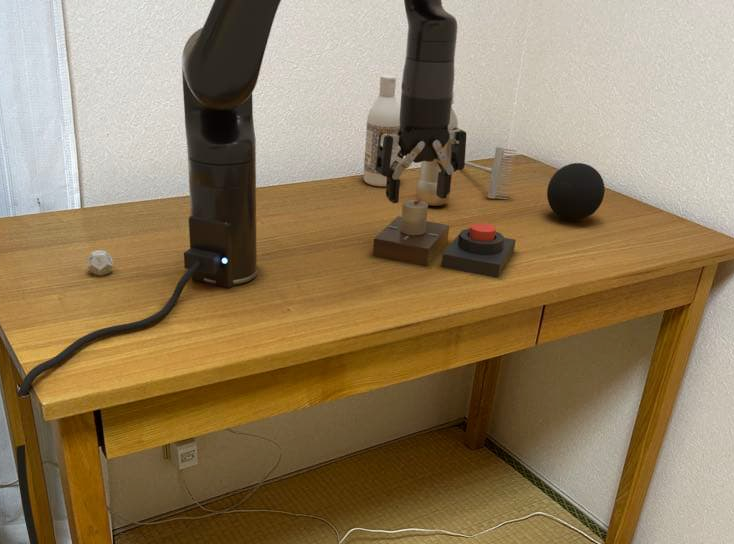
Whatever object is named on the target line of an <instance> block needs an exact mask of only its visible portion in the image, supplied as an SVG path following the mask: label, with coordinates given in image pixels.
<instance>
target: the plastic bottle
mask: <svg viewBox="0 0 734 544" xmlns="http://www.w3.org/2000/svg"><path fill="white" fill-rule="evenodd" d="M454 99H455V92H454V91H453V96H452V105H451V115H450V123H449V125H448V131H450V130H453V128H459V120H458V117H457V114H456V113H455V111H454V108H453V105H454V103H455V101H454ZM443 150H444V151H445V153H446V155H447V156H448V158H449V162H450V157H451V143H450V141H449V140H448V142H447V143H446V145H445V146H444V148H443ZM438 172H441V170H440V168H439V166H438V165H437V163H436V162H435V160H433V161H431V162H428V161H422V162H421V165H420V171H419V177H418V179H417V183H416V187H415V194H416V195H415V196H416V200H417V199H421V201H423V202H425V203H427V204H428V206H433V207H434V206H435V207H436V206H437V207H438V206H443V205H446V204H447V202H448V201H449V200H450V198H451V194H452V184H451V185H450V192H449V194H447V197H446V198H443V199H441V198H440V197H438V196H437V194H436V191H437V181H438Z"/></svg>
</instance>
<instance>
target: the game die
mask: <svg viewBox="0 0 734 544" xmlns="http://www.w3.org/2000/svg"><path fill="white" fill-rule="evenodd" d="M113 259H114V258H113V257H112V256H111V254H109V252H108V251H107V250H106V251H105V250H101V249H97V250H94V251H91V252H90V254H89V255H88V257H87V259H86V264H87V268H88V269H89V271H90V272H91V273H92V274H93V275H96V276H104V275H107V274H110V272H111V270H112V268H113V267H114V262H113V261H114V260H113Z"/></svg>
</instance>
